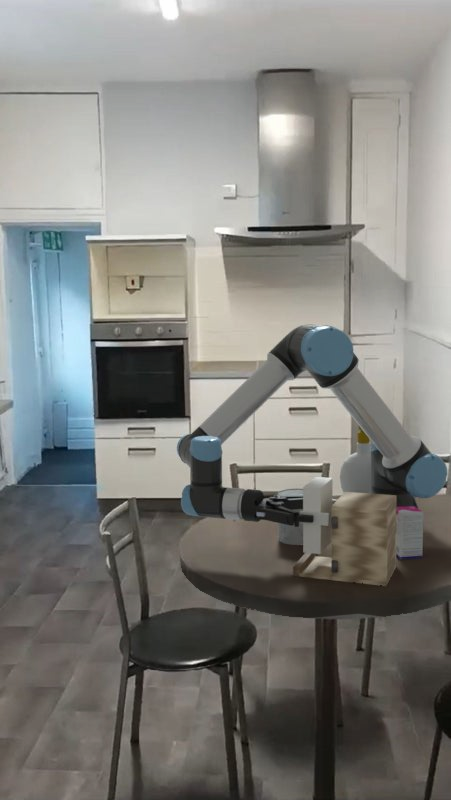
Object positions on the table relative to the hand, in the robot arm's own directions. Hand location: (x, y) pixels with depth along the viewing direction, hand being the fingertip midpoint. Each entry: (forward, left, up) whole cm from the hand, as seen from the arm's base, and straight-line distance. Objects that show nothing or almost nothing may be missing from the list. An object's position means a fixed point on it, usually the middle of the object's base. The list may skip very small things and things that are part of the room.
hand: (335, 512), depth 184 cm
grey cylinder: (+3, -25, -14) cm, 29 cm away
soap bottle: (-25, -55, -14) cm, 62 cm away
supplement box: (-20, -7, -14) cm, 25 cm away
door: (+4, -2, -8) cm, 9 cm away
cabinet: (-2, +2, -14) cm, 14 cm away
